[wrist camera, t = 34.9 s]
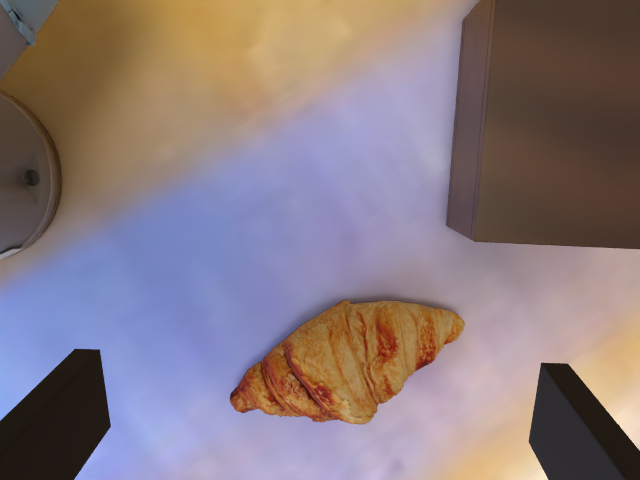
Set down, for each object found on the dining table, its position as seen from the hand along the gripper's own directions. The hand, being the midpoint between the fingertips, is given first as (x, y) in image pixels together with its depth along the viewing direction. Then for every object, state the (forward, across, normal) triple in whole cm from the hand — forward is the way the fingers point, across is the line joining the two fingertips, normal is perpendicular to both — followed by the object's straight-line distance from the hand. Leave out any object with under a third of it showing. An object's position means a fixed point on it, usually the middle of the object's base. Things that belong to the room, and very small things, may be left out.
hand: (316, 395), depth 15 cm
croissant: (+27, -1, +14) cm, 30 cm away
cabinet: (+30, -17, -6) cm, 35 cm away
